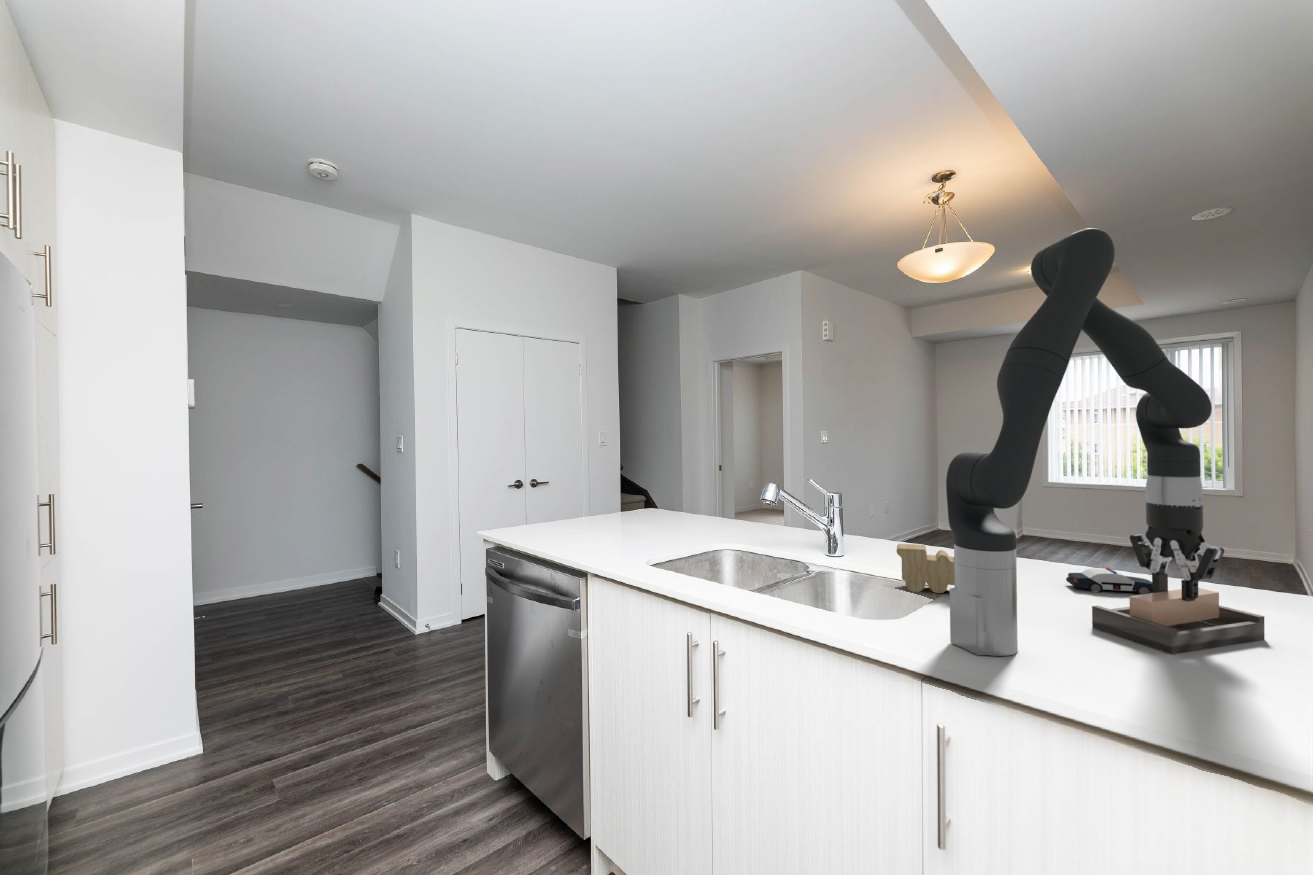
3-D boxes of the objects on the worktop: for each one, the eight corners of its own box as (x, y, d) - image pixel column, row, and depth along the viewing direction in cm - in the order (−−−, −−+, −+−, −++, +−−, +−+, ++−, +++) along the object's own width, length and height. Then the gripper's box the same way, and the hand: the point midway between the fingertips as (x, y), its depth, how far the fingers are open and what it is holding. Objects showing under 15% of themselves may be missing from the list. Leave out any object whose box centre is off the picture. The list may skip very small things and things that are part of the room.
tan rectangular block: (1152, 628, 97) (1151, 602, 97) (1129, 621, 101) (1129, 596, 101) (1219, 617, 101) (1218, 592, 101) (1195, 611, 105) (1195, 587, 105)
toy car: (1162, 597, 122) (1162, 574, 122) (1074, 592, 128) (1074, 570, 128) (1151, 591, 127) (1150, 569, 127) (1066, 586, 132) (1066, 564, 132)
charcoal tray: (1171, 654, 92) (1171, 629, 92) (1092, 627, 105) (1092, 605, 105) (1264, 639, 97) (1264, 616, 97) (1178, 615, 110) (1178, 595, 110)
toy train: (981, 597, 124) (980, 552, 124) (896, 590, 131) (896, 547, 131) (978, 591, 129) (978, 547, 129) (897, 584, 136) (896, 542, 136)
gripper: (1116, 497, 107) (1117, 588, 107) (1205, 507, 93) (1206, 611, 93) (1146, 495, 109) (1147, 584, 109) (1238, 504, 95) (1239, 606, 95)
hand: (1174, 596), depth 101 cm, fingers closed on tan rectangular block, 3 cm apart
